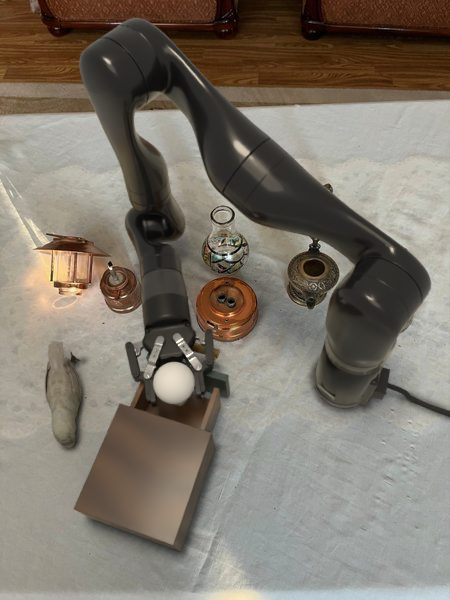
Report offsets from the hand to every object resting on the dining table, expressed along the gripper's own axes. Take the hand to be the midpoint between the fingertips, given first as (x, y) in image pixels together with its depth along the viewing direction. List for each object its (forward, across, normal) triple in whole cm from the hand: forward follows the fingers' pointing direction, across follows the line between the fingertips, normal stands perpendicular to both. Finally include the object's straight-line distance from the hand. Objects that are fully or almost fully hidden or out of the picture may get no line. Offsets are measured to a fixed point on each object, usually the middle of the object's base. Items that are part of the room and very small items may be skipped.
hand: (177, 401), depth 77 cm
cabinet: (+9, -6, +10) cm, 15 cm away
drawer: (-2, 0, +10) cm, 10 cm away
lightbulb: (-2, 0, +7) cm, 7 cm away
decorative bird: (-7, -19, +11) cm, 23 cm away
